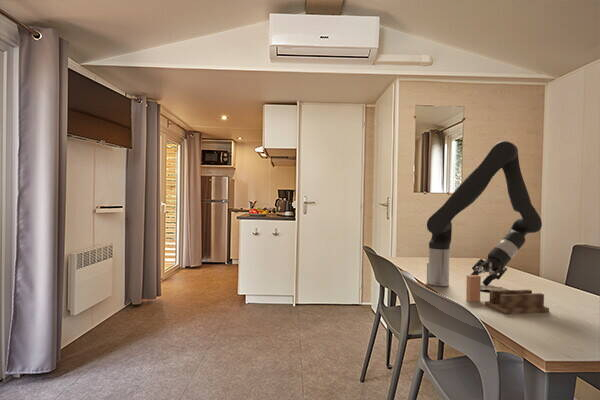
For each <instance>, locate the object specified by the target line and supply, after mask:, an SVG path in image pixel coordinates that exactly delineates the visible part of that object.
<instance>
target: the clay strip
mask: <svg viewBox="0 0 600 400" xmlns="http://www.w3.org/2000/svg"><path fill="white" fill-rule="evenodd" d="M481 278H482V276H481V275H471V274H466V297H465V298H466V299H465V300H466V301H468V302H471V303H472V302H481V289H480V285H482V283H481V280H482V279H481Z"/></svg>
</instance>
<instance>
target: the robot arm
mask: <svg viewBox="0 0 600 400" xmlns="http://www.w3.org/2000/svg"><path fill="white" fill-rule="evenodd" d="M501 169H502V171H503V174H504V177H505V182H506V189H507V194H508V197H509V201H510V203H511V207H512V209H513V211H514V212H517V213H519V214H520V217H519V218H517V219H516V220H514V222H513V223H512V225H511V227H510V229H509V230H508V232H507V234H506V235H505V236H504V237H503V238H502V239H501V240H499V242H498V243H497V244H496V245H495V246H494V247H493V248H492V249H491V251H489V253H488V254H487V258H486V260H483V258H480V259H479V260H478V261H477V262H476V263H475V264H474V265H473V266H472V267H471V269H472V270H473V272H471V274H470V275H478V276H480V275H481V274H485V273H488V275H487V276H486V277H485V278H484V280H483V281H482V283H481V284H482V285H485V286H488V285H490V284H491V283H492V282H493V280H500V279H501V277H503V276H504V274H505V273H506V271H507V270H508V268H507V265H508V264H509V263H510V261H511V260H513V258H514V257H515V255H516V254H517V252H518V251H519V250H520V249H521V247H523V245H524V244H525V243H526V236H527V235H528V234H533V233H534V234H535V233H538V232H539V231H541V230H542V227H543V222H542V218H541V216H540V215H539V213H538V212H537V210H536V208H535V207H534V205H533V204H532V201H531V197H530V194H529V191H528V189H527V187H526V183H525V180H524V177H523V174H522V171H521V166H520V159H519V150H518V147H517V146H516V145H515V144H514V143H513V142H510V141H506V140H502V141H499V142H497V143H496V144H495V145H493V146H492V148H491V149H490V151H489V152H488V153H487V155H486V156H485V157H484V158H483V160H482V161H481V163H480V164H479V165H478V166H477V167H476V168H475V169H474V170H473V171H471V173H470V174H469V175H468V176H467V177H466V178H465V179H464V180H463V181H462V182H461V183H460V185H459V186H457V188H456V189H455V190H454V191H453V193H452V194H451V195H450V196H449V197H448V198H447V200H446V201H445V203H444V204H443V205H442V206H441V207H440V208H439V209H437V210H436V211H435V212H434V213H433V214H432V215H430V217H428V219H427V221H426V229H427V231H428V232H429V233H431V238H430V240H429V241H428V262H427V263H426V283H427V284H428V285H431V286H435V287H448V286H450V254H451V253H450V251H451V249H450V246H451V243H452V234H453V231H452V230H453V224H452V221H453V219H454V218H455V217H456V216H458V214H459V213H461V212H463V211H464V210H465V209H467V208H468V207H469V206H471V205H473V203H474V202H476V200H477V199H478V198H479V197H480V196H481V195H482V194H483V192H484V191H485V190H486V188H488V186H489V183H490V182H491V180H492V179H493V177H494V176H495V175H496V174H497V173H498V172H499V171H500V170H501Z"/></svg>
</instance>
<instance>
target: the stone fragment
mask: <svg viewBox="0 0 600 400" xmlns="http://www.w3.org/2000/svg"><path fill="white" fill-rule="evenodd" d="M480 290H481V291H485V290H487V291H500V290H509V289H507V288H505V287H503V286H495V285H492V284H491V285H490V284H489V285H488V286H485V285H484V284H480Z"/></svg>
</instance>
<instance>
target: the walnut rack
mask: <svg viewBox="0 0 600 400" xmlns="http://www.w3.org/2000/svg"><path fill="white" fill-rule="evenodd" d="M484 306H486V307H488V308H490V309H493V310H495V311H497V312H500V313H502V314H504V315H515V314H517V315H518V314H534V313H535V314H536V313H540V314H541V313H549V312H550V307H547V306H545V294H544V293H542V292H541V293H540V292H539V293H538V292H537V293H535V292H534V293H533V291H532V289H527V288H526V289H508V290H500V291H496V290H489V300H488V301H487V300H486V301H484Z"/></svg>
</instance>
